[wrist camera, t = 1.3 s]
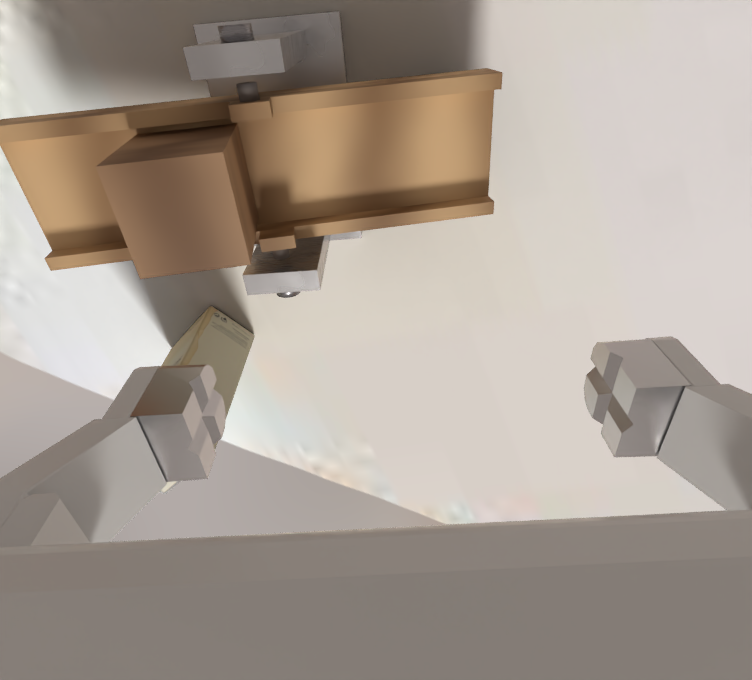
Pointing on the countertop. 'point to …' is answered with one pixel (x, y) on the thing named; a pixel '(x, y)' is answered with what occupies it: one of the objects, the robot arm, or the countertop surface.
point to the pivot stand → (275, 72)
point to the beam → (278, 159)
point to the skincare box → (213, 354)
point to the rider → (183, 200)
